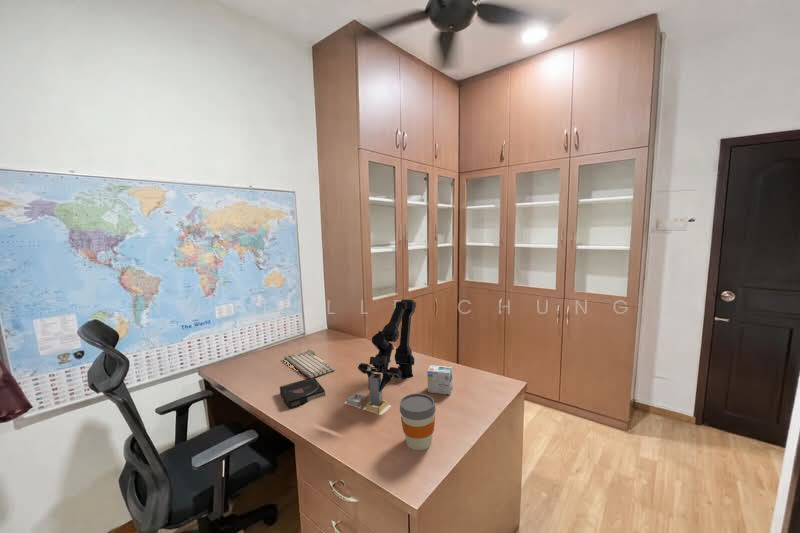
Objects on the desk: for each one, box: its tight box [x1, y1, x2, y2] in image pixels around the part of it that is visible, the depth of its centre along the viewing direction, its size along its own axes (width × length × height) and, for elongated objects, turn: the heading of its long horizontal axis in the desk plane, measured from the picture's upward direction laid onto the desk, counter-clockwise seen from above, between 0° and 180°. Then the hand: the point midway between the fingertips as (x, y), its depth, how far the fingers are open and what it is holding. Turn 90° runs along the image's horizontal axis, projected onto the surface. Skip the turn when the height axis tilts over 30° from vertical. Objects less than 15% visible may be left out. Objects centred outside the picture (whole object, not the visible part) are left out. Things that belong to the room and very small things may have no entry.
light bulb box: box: [426, 364, 454, 396], centre depth 149 cm, size 11×7×11 cm, turn 71°
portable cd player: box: [279, 377, 326, 410], centre depth 151 cm, size 16×17×4 cm
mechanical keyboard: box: [283, 348, 336, 379], centre depth 185 cm, size 38×19×3 cm, turn 41°
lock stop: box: [368, 373, 384, 406], centre depth 135 cm, size 4×4×12 cm
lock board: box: [344, 392, 392, 416], centre depth 139 cm, size 20×8×5 cm, turn 59°
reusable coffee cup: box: [399, 393, 436, 451], centre depth 114 cm, size 13×13×15 cm
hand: (374, 390), depth 134 cm, fingers closed on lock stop, 4 cm apart
